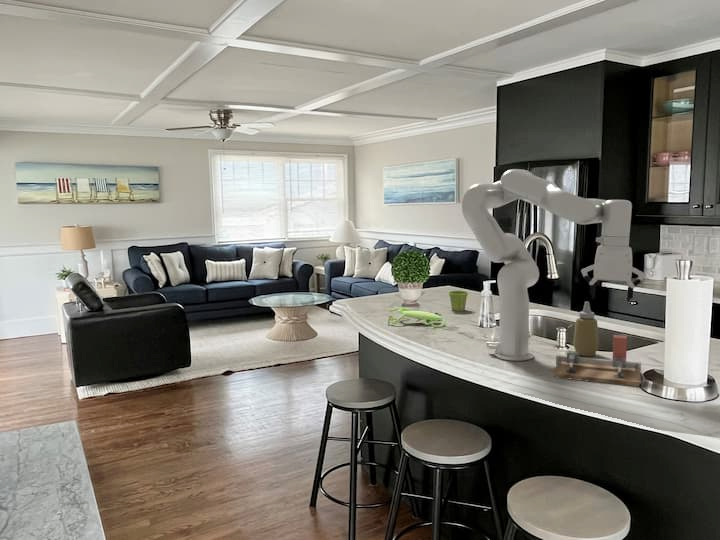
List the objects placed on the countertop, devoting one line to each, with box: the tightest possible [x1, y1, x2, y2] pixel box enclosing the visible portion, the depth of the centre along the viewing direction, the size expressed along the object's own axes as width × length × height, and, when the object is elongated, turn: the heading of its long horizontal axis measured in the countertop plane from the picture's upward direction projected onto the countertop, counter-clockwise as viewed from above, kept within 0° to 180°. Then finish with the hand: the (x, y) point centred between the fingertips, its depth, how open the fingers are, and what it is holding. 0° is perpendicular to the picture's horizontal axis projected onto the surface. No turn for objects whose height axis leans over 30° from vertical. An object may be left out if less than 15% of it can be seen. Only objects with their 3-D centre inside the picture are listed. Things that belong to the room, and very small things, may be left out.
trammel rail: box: [555, 350, 642, 373], centre depth 167 cm, size 24×9×4 cm, turn 66°
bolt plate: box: [553, 362, 642, 386], centre depth 167 cm, size 23×14×1 cm, turn 66°
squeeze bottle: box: [572, 301, 600, 357], centre depth 187 cm, size 8×8×18 cm
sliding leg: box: [612, 334, 628, 376], centre depth 164 cm, size 4×9×10 cm, turn 156°
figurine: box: [387, 307, 446, 329], centre depth 243 cm, size 18×27×6 cm
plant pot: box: [448, 290, 469, 312], centre depth 267 cm, size 9×9×9 cm
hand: (610, 299), depth 167 cm, fingers open, 9 cm apart
